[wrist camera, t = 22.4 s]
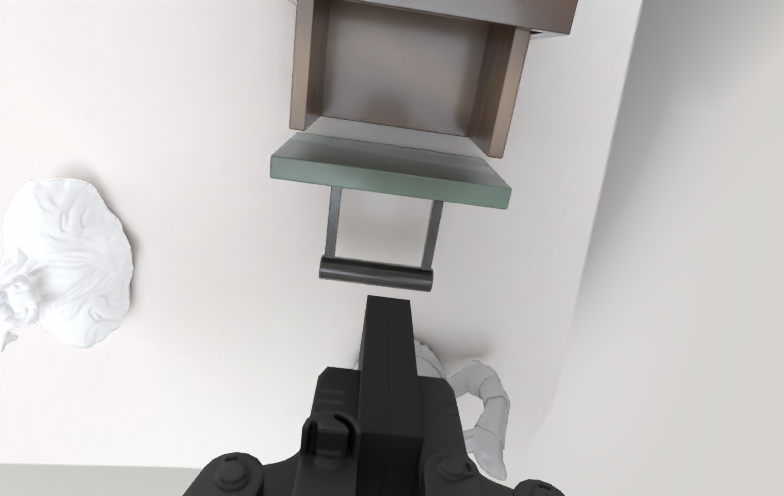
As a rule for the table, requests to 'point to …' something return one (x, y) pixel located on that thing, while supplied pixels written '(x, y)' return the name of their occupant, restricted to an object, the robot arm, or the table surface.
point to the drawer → (399, 115)
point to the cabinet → (495, 12)
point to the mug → (493, 421)
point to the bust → (63, 264)
